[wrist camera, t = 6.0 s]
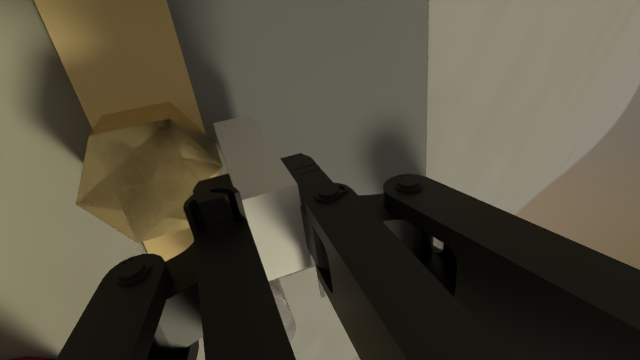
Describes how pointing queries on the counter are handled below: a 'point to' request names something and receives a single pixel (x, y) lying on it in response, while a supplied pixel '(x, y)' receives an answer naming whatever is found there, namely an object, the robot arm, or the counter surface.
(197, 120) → the mat
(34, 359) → the plastic cup
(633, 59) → the counter surface
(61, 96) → the counter surface
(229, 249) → the robot arm
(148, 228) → the tan faceted flat piece
